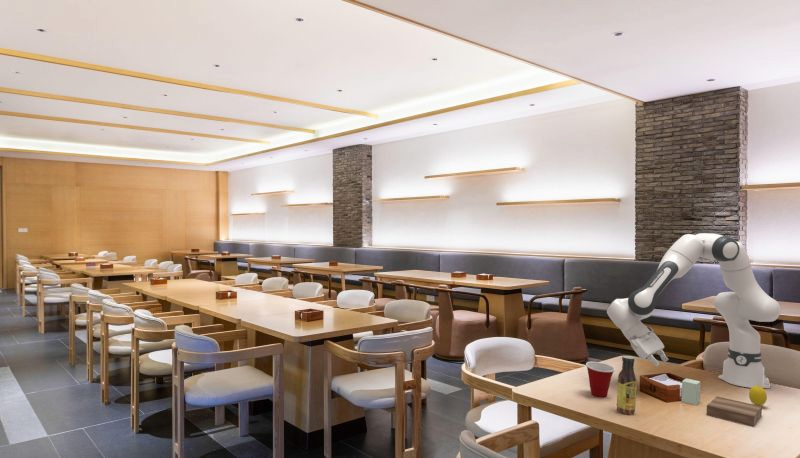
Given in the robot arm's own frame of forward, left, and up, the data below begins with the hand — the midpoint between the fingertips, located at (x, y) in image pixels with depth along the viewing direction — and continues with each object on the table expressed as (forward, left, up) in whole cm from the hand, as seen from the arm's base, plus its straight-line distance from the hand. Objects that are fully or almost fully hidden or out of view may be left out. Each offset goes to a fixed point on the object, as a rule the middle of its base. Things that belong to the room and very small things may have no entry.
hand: (662, 363), depth 201 cm
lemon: (-14, +29, -13) cm, 35 cm away
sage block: (0, +10, -13) cm, 16 cm away
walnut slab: (+4, +25, -13) cm, 29 cm away
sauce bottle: (+30, -3, -13) cm, 33 cm away
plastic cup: (+20, -17, -13) cm, 29 cm away
